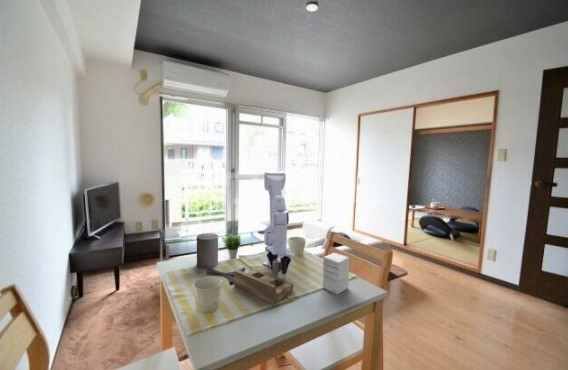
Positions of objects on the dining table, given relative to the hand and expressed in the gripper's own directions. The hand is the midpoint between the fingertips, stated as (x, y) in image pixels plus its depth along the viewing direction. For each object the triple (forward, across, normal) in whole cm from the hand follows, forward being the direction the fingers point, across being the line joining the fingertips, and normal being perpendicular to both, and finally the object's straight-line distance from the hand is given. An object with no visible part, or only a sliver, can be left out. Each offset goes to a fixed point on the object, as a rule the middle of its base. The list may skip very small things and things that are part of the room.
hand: (279, 271), depth 110 cm
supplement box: (+3, +22, +8) cm, 24 cm away
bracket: (+4, -20, -13) cm, 24 cm away
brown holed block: (+3, +1, -10) cm, 10 cm away
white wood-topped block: (+3, 0, 0) cm, 3 cm away
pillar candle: (+3, -34, -11) cm, 36 cm away
